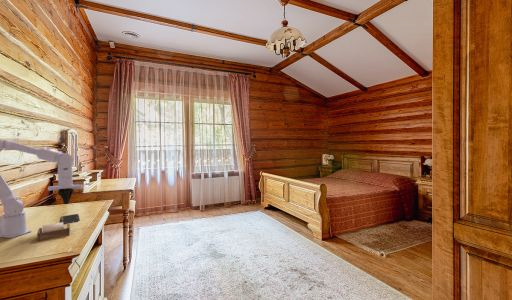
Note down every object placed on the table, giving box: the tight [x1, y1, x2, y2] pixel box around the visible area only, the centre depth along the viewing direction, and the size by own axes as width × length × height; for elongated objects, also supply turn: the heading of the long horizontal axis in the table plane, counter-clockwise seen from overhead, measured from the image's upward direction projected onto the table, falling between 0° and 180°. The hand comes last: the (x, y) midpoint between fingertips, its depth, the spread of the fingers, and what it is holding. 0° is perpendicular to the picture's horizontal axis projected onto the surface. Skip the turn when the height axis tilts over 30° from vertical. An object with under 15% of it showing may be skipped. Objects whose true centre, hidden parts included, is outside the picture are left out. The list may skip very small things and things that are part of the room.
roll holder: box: [36, 223, 71, 242], centre depth 107 cm, size 7×11×4 cm
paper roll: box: [41, 221, 65, 233], centre depth 108 cm, size 7×5×5 cm
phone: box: [60, 213, 81, 225], centre depth 130 cm, size 8×1×15 cm
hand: (66, 203), depth 123 cm, fingers closed
